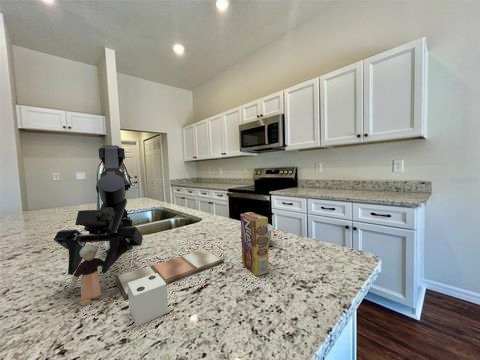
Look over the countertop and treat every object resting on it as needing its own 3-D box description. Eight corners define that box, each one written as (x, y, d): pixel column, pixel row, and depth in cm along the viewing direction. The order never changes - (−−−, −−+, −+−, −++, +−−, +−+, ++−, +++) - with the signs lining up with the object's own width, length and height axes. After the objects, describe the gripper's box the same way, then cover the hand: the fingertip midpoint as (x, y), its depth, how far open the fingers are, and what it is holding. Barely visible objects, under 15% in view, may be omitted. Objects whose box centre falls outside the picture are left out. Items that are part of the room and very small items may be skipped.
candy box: (270, 272, 58) (268, 217, 57) (256, 277, 56) (254, 219, 55) (254, 260, 66) (252, 211, 65) (241, 263, 64) (239, 213, 63)
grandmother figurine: (85, 310, 45) (79, 251, 45) (70, 308, 46) (64, 251, 45) (113, 289, 53) (109, 239, 52) (100, 288, 54) (95, 238, 53)
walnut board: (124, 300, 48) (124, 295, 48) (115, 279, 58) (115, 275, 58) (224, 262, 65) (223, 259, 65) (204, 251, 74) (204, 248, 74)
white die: (136, 326, 40) (133, 295, 39) (129, 310, 44) (127, 282, 44) (168, 312, 43) (166, 283, 43) (158, 298, 48) (157, 272, 48)
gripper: (56, 197, 52) (14, 262, 41) (134, 194, 52) (113, 257, 42) (81, 221, 60) (52, 280, 50) (149, 218, 61) (134, 275, 50)
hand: (86, 273), depth 48 cm, fingers open, 7 cm apart
